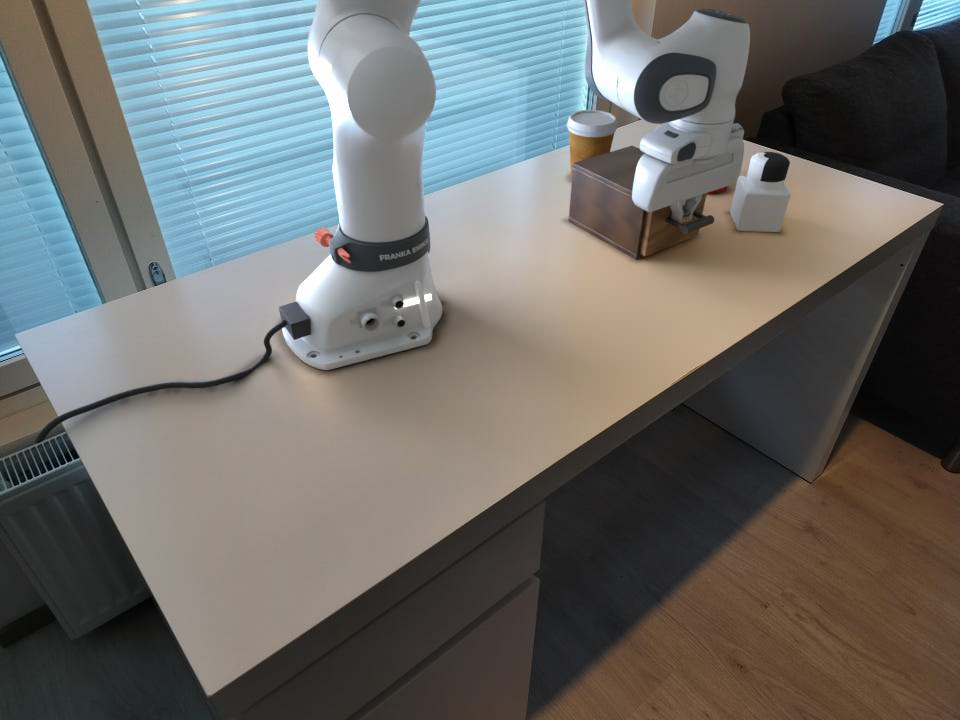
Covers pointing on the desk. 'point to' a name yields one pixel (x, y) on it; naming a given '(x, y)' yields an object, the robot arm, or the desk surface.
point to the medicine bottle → (762, 194)
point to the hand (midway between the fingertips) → (680, 221)
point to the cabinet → (608, 199)
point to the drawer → (671, 228)
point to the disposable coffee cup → (590, 134)
